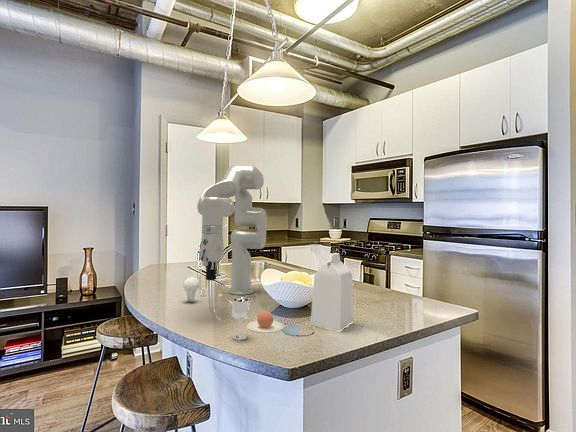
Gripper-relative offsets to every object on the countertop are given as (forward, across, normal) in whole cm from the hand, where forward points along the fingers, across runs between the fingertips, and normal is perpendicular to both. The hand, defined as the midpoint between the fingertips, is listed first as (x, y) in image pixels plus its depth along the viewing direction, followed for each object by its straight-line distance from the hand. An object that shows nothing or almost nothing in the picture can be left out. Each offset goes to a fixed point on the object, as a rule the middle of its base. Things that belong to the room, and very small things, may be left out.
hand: (210, 279), depth 127 cm
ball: (+12, -2, -22) cm, 25 cm away
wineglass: (+15, -13, -18) cm, 27 cm away
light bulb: (+15, +18, +19) cm, 30 cm away
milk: (+15, +11, -44) cm, 48 cm away
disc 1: (+14, 0, -22) cm, 26 cm away
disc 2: (+14, 0, -34) cm, 37 cm away
